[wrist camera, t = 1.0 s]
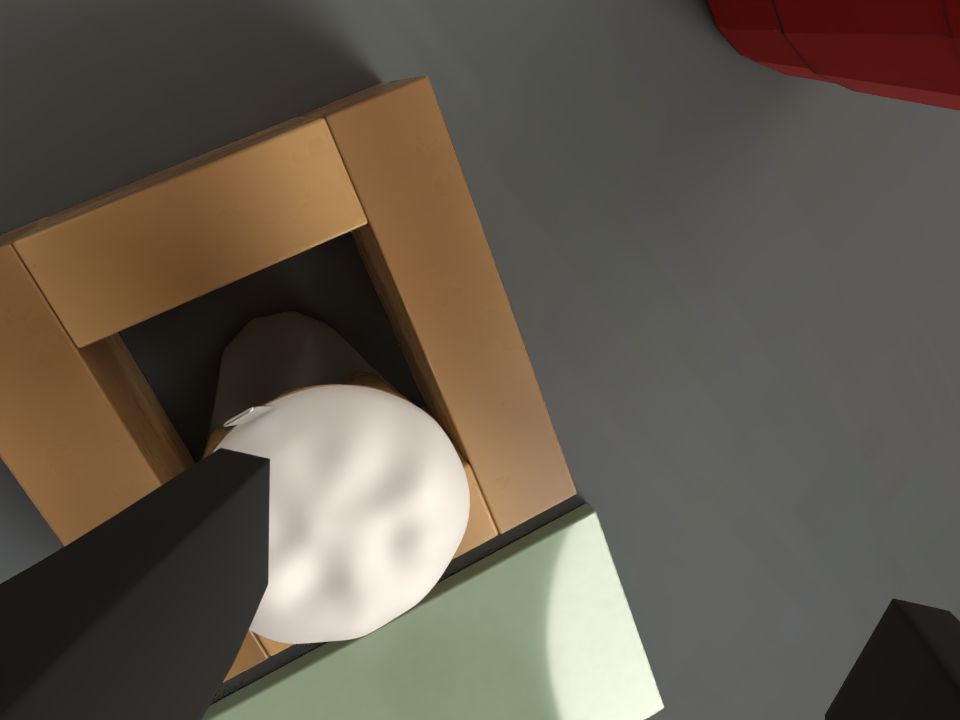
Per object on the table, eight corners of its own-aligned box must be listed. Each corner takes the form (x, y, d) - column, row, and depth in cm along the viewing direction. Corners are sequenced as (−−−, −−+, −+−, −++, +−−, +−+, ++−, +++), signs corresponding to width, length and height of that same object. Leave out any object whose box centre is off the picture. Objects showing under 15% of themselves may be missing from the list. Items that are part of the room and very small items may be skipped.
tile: (324, 897, 26) (327, 914, 25) (194, 712, 22) (194, 728, 21) (656, 696, 28) (665, 708, 27) (587, 501, 24) (596, 510, 24)
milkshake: (301, 222, 19) (396, 323, 10) (401, 395, 21) (552, 603, 12) (132, 315, 18) (71, 512, 9) (254, 483, 21) (299, 772, 12)
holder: (181, 605, 21) (178, 708, 17) (-51, 255, 17) (-119, 294, 13) (518, 433, 23) (578, 494, 19) (384, 81, 19) (428, 74, 15)
